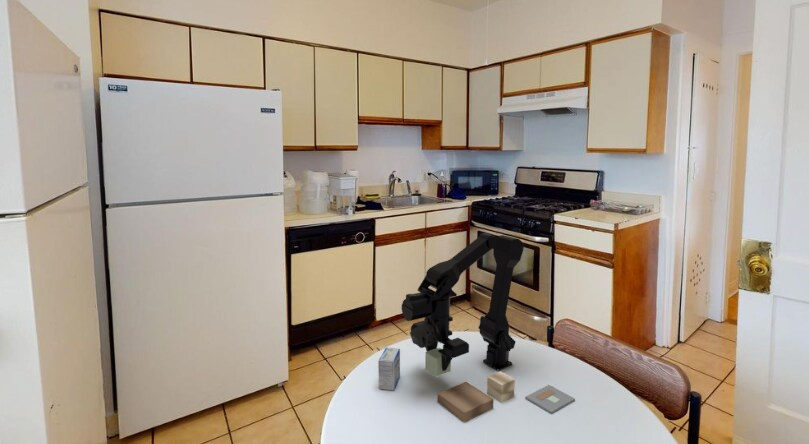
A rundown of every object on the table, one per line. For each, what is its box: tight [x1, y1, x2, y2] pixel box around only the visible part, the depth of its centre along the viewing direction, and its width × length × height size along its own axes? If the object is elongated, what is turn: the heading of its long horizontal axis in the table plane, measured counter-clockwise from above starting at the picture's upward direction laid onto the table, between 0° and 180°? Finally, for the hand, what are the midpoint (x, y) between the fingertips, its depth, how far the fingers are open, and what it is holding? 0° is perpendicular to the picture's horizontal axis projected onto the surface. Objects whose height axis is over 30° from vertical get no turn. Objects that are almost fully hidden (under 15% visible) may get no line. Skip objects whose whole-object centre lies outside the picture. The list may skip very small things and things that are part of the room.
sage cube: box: [424, 347, 452, 377], centre depth 117 cm, size 5×5×5 cm
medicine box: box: [377, 347, 401, 391], centre depth 118 cm, size 8×4×9 cm, turn 169°
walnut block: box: [436, 381, 494, 423], centre depth 108 cm, size 10×10×3 cm
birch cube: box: [486, 370, 516, 403], centre depth 112 cm, size 5×5×5 cm
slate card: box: [524, 384, 576, 415], centre depth 110 cm, size 10×8×1 cm
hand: (438, 366), depth 117 cm, fingers closed on sage cube, 5 cm apart
